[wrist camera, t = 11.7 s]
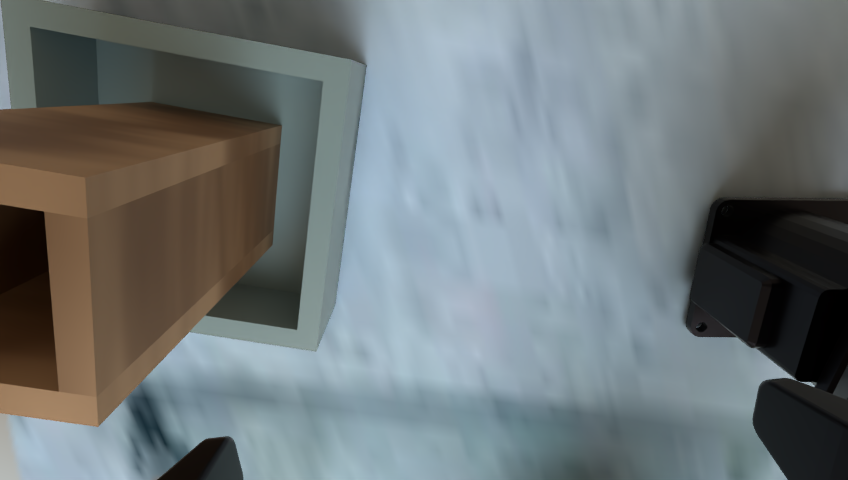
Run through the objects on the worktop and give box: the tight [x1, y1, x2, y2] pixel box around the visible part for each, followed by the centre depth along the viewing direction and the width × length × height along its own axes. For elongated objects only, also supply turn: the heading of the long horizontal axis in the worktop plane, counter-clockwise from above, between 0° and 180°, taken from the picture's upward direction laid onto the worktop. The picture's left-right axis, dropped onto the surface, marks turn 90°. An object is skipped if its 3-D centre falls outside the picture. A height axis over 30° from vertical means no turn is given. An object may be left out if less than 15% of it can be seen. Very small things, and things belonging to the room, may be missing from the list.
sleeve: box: [0, 102, 282, 427], centre depth 13 cm, size 5×5×11 cm
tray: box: [1, 0, 367, 352], centre depth 18 cm, size 11×11×4 cm
